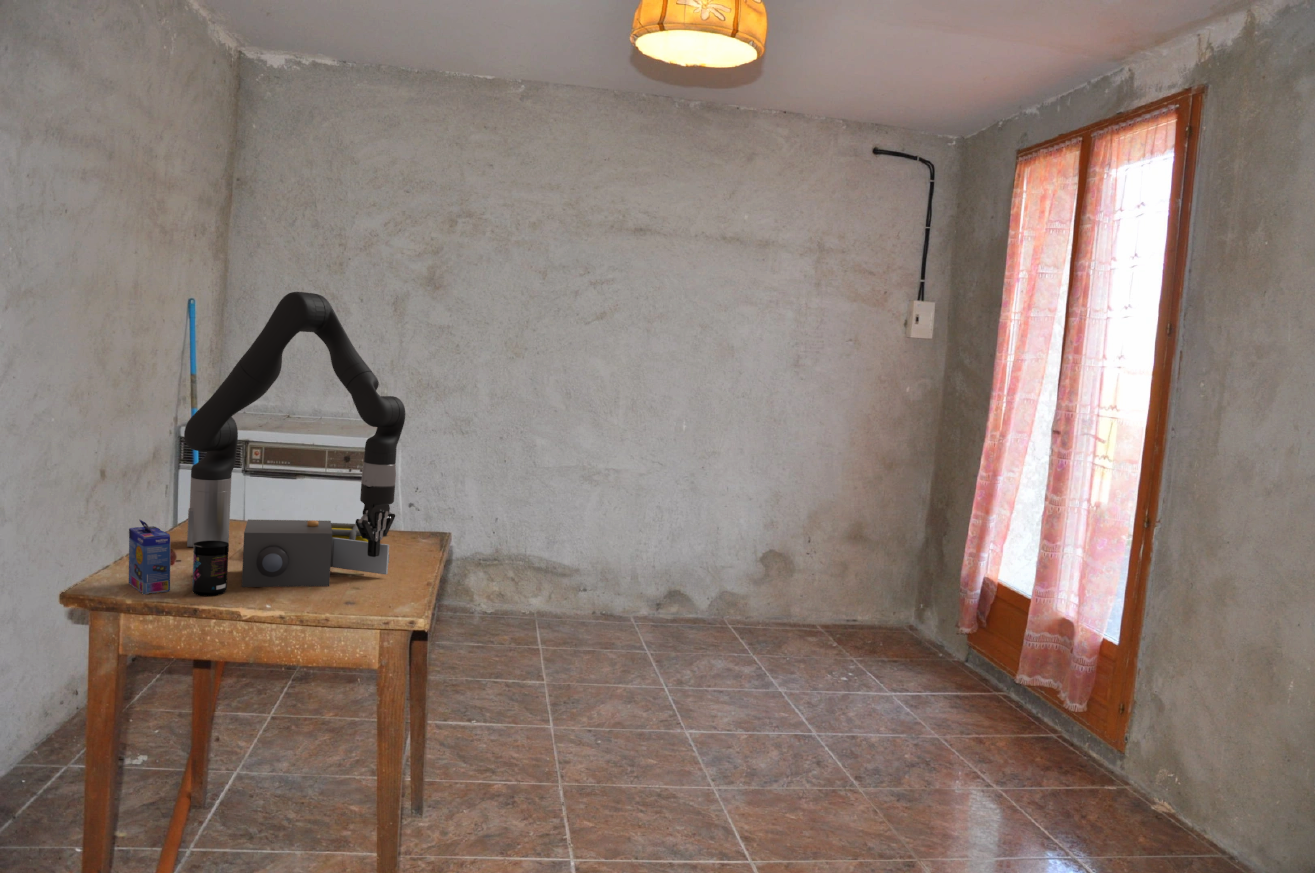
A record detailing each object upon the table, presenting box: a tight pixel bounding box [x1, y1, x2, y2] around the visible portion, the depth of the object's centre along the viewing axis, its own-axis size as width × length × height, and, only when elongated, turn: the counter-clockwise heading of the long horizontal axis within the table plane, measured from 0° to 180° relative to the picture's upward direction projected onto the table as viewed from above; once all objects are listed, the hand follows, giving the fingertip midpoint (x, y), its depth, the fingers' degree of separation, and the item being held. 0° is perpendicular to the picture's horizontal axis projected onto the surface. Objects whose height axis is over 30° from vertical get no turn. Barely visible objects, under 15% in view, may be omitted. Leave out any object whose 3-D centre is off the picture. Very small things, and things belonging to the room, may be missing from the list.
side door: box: [330, 537, 390, 575], centre depth 222 cm, size 1×14×7 cm, turn 80°
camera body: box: [241, 519, 332, 588], centre depth 212 cm, size 18×17×13 cm
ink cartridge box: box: [128, 519, 171, 595], centre depth 198 cm, size 10×6×14 cm, turn 46°
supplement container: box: [191, 541, 230, 597], centre depth 198 cm, size 7×7×10 cm
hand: (373, 555), depth 219 cm, fingers closed
